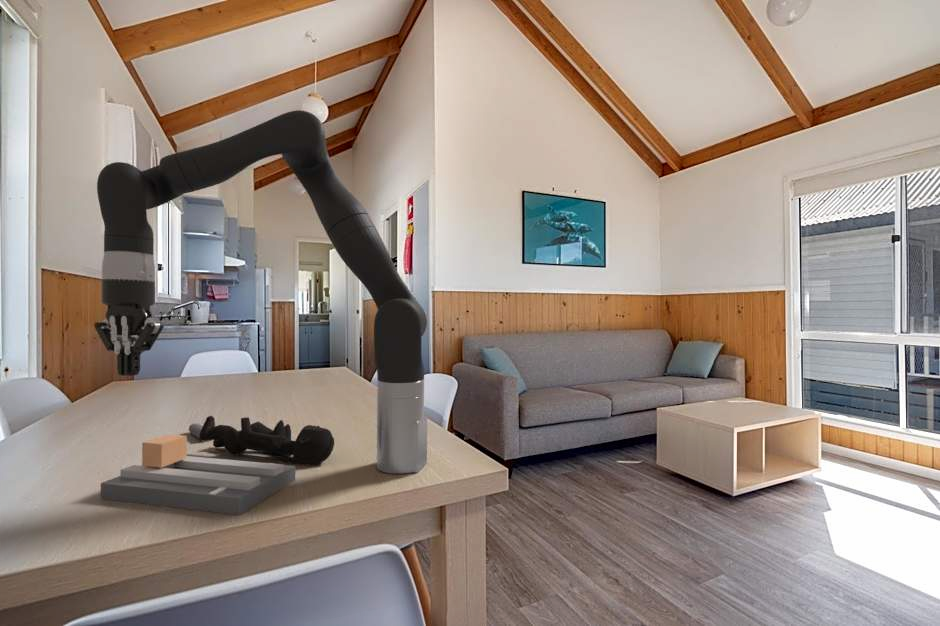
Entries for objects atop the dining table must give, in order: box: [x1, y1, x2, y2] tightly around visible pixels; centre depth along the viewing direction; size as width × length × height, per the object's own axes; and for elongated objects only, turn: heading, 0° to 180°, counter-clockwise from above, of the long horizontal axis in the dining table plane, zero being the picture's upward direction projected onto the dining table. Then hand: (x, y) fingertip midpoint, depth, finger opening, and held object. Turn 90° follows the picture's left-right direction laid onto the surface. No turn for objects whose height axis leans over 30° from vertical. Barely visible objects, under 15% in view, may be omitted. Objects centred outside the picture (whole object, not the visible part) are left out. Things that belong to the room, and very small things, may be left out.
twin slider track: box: [100, 455, 296, 516], centre depth 74 cm, size 26×14×4 cm, turn 78°
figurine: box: [198, 415, 335, 466], centre depth 91 cm, size 8×30×8 cm, turn 71°
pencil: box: [188, 423, 212, 443], centre depth 105 cm, size 11×3×3 cm, turn 47°
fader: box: [141, 434, 188, 469], centre depth 76 cm, size 4×5×5 cm
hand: (128, 375), depth 78 cm, fingers closed
